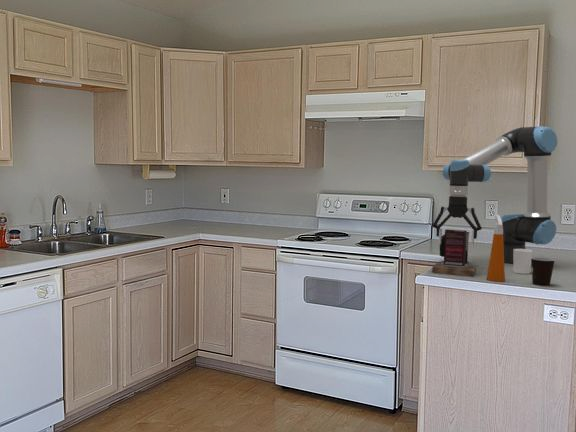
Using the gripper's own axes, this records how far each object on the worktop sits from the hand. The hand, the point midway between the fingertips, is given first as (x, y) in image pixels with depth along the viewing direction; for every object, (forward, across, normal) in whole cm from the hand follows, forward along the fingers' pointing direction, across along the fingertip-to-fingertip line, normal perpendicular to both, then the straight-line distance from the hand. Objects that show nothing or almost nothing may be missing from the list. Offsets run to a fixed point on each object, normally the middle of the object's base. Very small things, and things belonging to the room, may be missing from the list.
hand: (456, 245), depth 258 cm
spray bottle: (+12, +17, -7) cm, 22 cm away
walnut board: (+12, 0, 0) cm, 12 cm away
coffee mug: (+12, +35, -7) cm, 38 cm away
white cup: (+12, +27, +15) cm, 33 cm away
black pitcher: (+12, -1, +25) cm, 28 cm away
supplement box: (+10, 0, 0) cm, 10 cm away
